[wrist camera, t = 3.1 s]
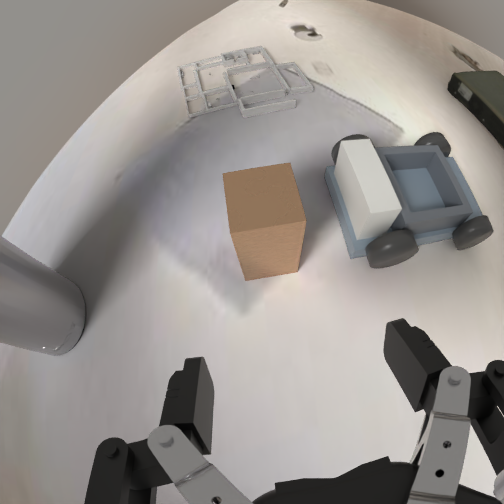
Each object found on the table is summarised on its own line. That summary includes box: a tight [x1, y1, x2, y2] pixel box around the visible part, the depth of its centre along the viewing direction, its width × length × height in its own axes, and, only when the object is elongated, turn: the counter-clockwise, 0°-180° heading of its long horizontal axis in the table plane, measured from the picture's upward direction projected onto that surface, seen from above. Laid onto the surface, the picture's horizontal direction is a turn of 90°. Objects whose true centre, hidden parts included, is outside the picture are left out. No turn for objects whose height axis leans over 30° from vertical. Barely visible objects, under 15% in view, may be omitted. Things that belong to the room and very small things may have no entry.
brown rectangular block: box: [223, 163, 306, 281], centre depth 25 cm, size 5×5×10 cm
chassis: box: [325, 132, 493, 268], centre depth 27 cm, size 18×13×7 cm
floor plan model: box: [177, 46, 313, 118], centre depth 41 cm, size 19×25×2 cm
